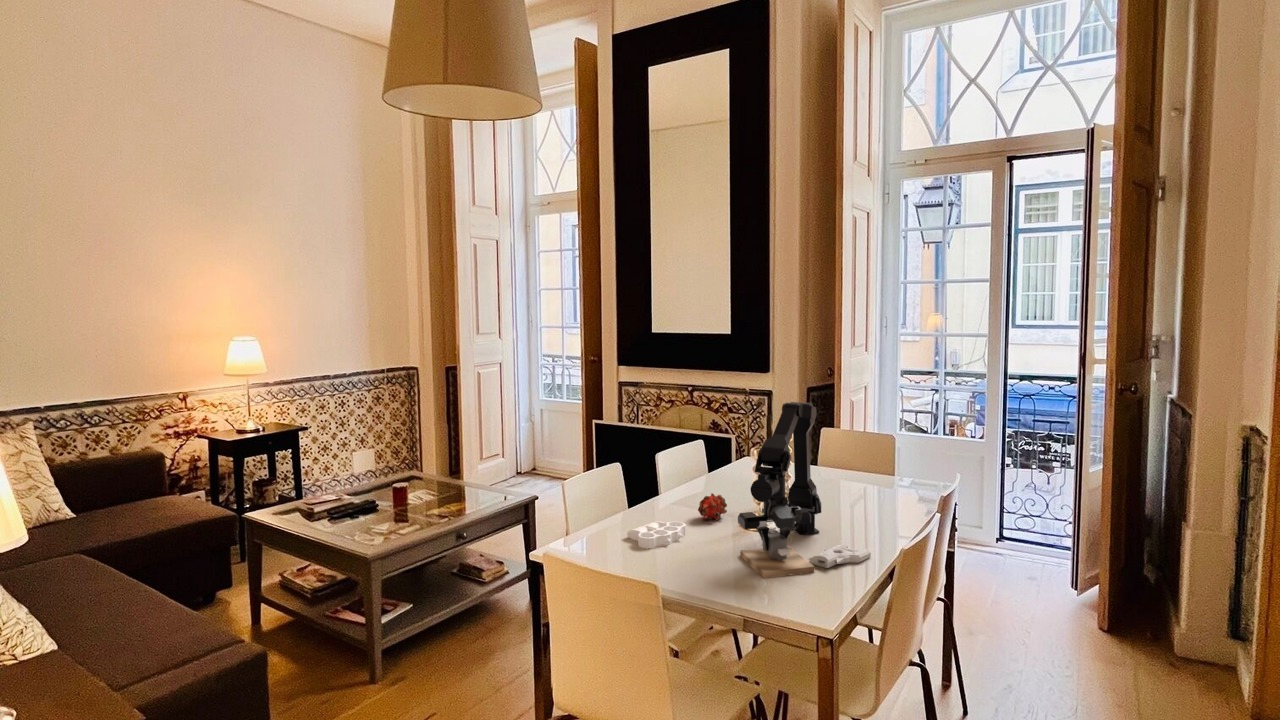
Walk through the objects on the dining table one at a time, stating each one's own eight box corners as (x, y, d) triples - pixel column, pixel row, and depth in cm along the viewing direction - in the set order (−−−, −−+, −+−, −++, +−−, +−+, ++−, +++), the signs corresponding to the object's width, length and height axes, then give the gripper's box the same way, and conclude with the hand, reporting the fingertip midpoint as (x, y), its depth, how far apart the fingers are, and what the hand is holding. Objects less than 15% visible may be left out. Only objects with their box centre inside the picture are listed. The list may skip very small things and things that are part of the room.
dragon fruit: (726, 518, 229) (704, 533, 221) (708, 500, 233) (685, 514, 225) (737, 501, 225) (715, 516, 216) (718, 483, 228) (695, 496, 220)
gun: (840, 562, 177) (806, 553, 184) (840, 575, 177) (806, 566, 184) (874, 546, 190) (840, 539, 197) (873, 559, 190) (840, 551, 197)
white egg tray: (660, 526, 219) (696, 537, 209) (619, 542, 206) (656, 553, 196) (660, 516, 219) (696, 526, 209) (619, 530, 206) (656, 541, 196)
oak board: (740, 555, 192) (740, 550, 192) (787, 550, 195) (787, 545, 195) (763, 577, 176) (763, 572, 176) (814, 572, 180) (814, 566, 179)
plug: (757, 545, 193) (757, 527, 192) (770, 543, 194) (770, 526, 193) (778, 563, 179) (778, 544, 179) (792, 561, 180) (792, 543, 180)
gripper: (752, 503, 175) (753, 564, 177) (821, 497, 179) (821, 556, 181) (736, 491, 186) (737, 548, 187) (801, 486, 190) (801, 542, 191)
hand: (774, 549), depth 186 cm, fingers closed on plug, 4 cm apart
